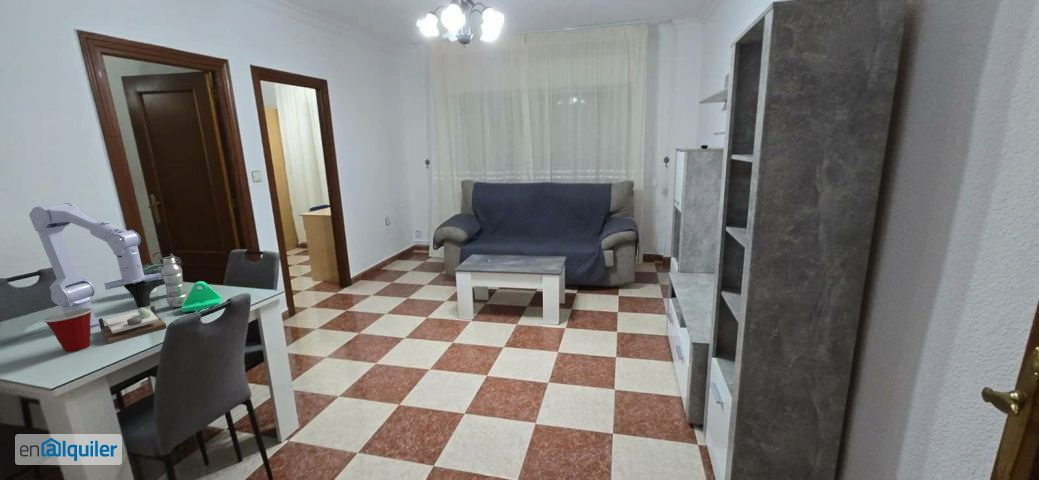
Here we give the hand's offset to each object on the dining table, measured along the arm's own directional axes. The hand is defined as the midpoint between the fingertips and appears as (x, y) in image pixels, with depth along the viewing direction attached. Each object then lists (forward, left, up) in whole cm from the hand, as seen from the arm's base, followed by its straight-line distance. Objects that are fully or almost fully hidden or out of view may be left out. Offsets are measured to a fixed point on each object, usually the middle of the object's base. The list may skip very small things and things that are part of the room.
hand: (139, 303), depth 147 cm
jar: (-47, +8, -9) cm, 49 cm away
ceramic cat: (-30, +11, -9) cm, 34 cm away
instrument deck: (-1, -3, -6) cm, 7 cm away
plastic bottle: (-15, +13, -9) cm, 22 cm away
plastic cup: (+2, -17, -9) cm, 20 cm away
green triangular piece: (-5, +19, -10) cm, 22 cm away
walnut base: (-1, -3, -9) cm, 10 cm away
